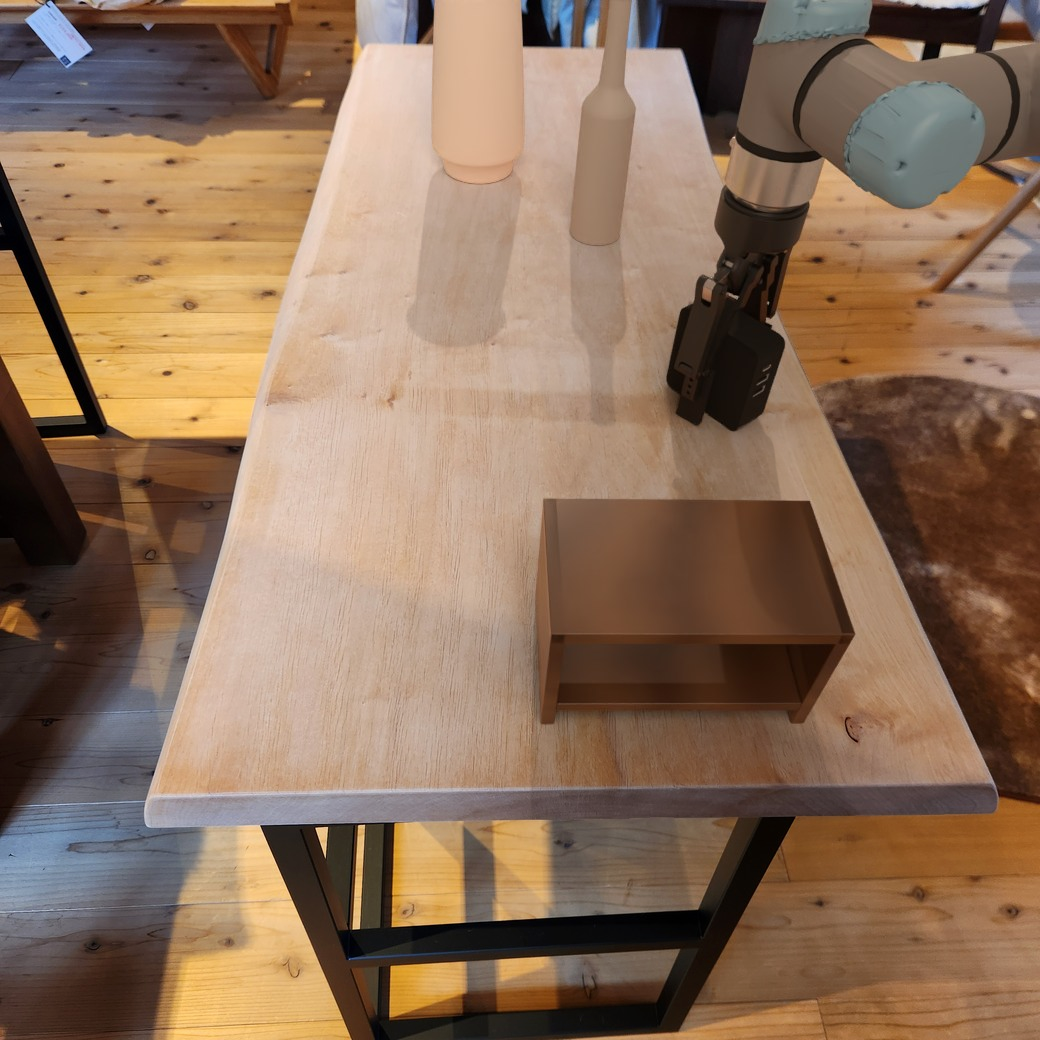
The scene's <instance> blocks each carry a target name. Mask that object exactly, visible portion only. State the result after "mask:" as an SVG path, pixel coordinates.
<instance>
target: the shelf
mask: <svg viewBox="0 0 1040 1040" xmlns="http://www.w3.org/2000/svg"><path fill="white" fill-rule="evenodd" d="M814 511H815V510H814V508H813V505H812V503H811V501H810V500H786V499H785V500H783V499H781V500H779V499H778V500H776V499H775V500H774V499H773V500H772V499H769V500H765V499H764V500H763V499H762V500H761V499H661V498H658V499H657V498H655V499H654V498H653V499H652V498H648V499H645V498H643V499H642V498H641V499H639V498H556V497H555V498H551V497H550V498H549V497H548V498H546V497H545V498H543V499H542V509H541V520H540V521H541V523H540V534H539V535H540V536H539V547H538V558H537V571H536V583H535V617H536V619H535V620H536V622H535V623H536V643H537V663H538V665H537V666H538V690H539V711H540V712H539V714H540V715H539V716H540V724H541V725H555V720H556V714H557V713H556V712H558V711H559V712H561V711H562V712H567V711H569V712H570V711H571V712H573V711H576V712H578V711H582V712H583V711H585V712H586V711H587V712H588V711H589V712H590V711H595V712H597V711H599V712H600V711H603V712H604V711H612V712H613V711H617V712H618V711H622V712H623V711H787V713H788V716H789V721H790V723H791V724H804V723H805V722H806V720H807V718H808V716H809V715H810V714H811V711H812V710H813V708H814V706H815V704H816V703H817V701H818V700H819V698H820V696H821V694H822V692H823V691H824V690H825V687H826V686H827V685H828V682H829V680H830V679H831V678H832V676H833V674H834V672H835V670H836V669H837V667H838V665H839V664H840V662H841V660H842V658H843V657H844V655H845V653H846V651H847V650H848V649H849V646H850V645H851V644H852V641H853V640H854V638H855V637H856V631H855V628H854V626H853V623H852V619H851V617H850V614H849V611H848V608H847V604H846V602H845V600H844V596H843V593H842V590H841V587H840V584H839V581H838V578H837V575H836V573H835V570H834V566H833V563H832V560H831V557H830V555H829V552H828V549H827V547H826V543H825V540H824V537H823V535H822V532H821V528H820V526H819V523H818V519H817V517H816V514H815V512H814Z"/></svg>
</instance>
